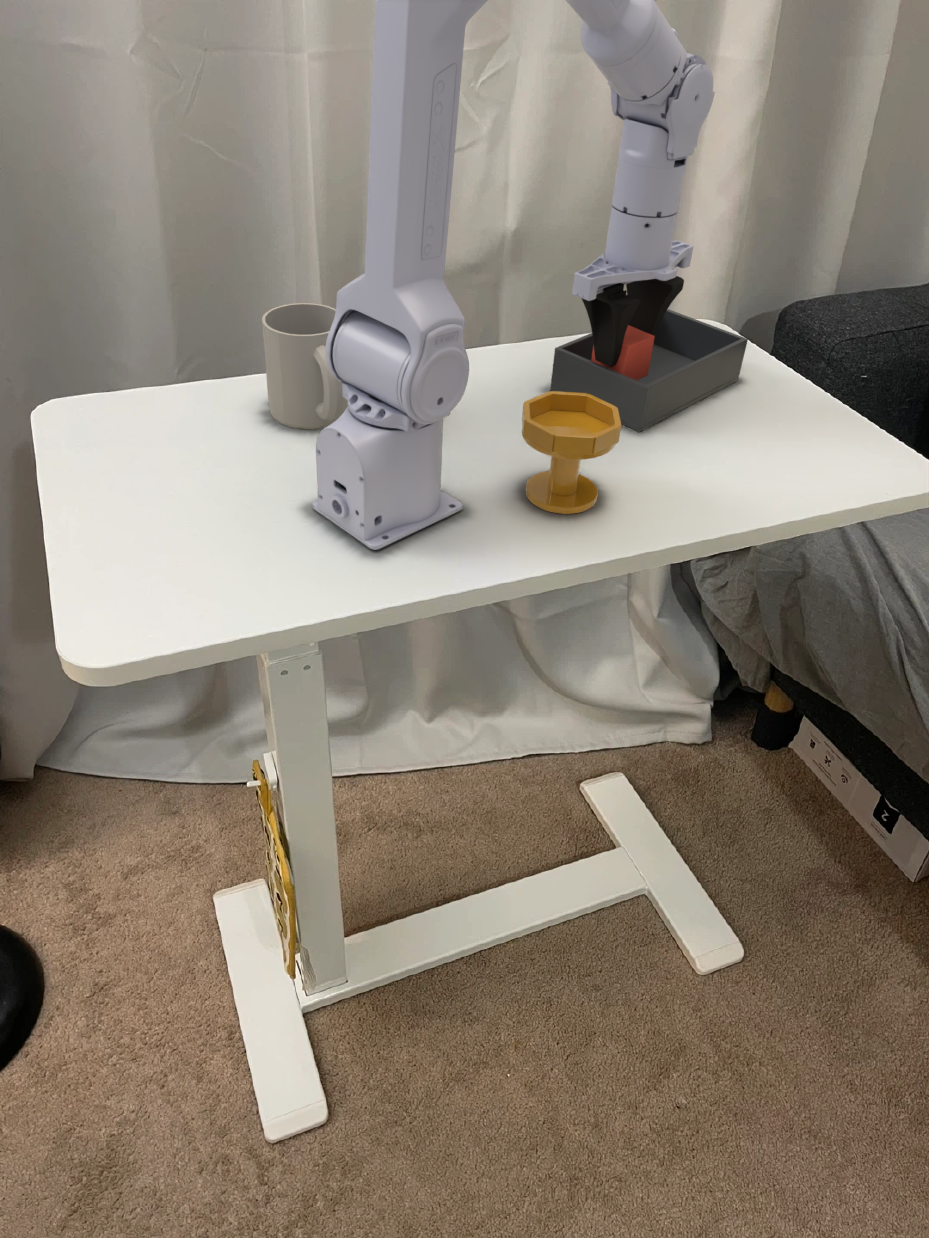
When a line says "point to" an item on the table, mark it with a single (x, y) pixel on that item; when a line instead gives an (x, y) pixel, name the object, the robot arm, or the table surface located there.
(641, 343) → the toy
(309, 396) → the cup
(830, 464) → the table surface
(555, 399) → the bowl
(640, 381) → the bin
